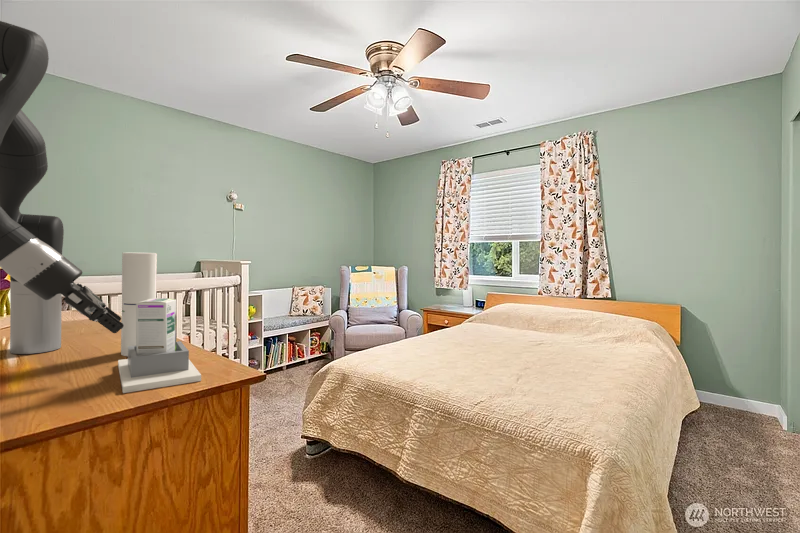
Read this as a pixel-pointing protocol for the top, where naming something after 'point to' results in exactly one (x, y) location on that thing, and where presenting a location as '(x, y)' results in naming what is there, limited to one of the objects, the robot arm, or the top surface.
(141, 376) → the dock
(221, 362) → the top surface
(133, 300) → the cylindrical container
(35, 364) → the top surface
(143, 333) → the syrup box
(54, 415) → the top surface
